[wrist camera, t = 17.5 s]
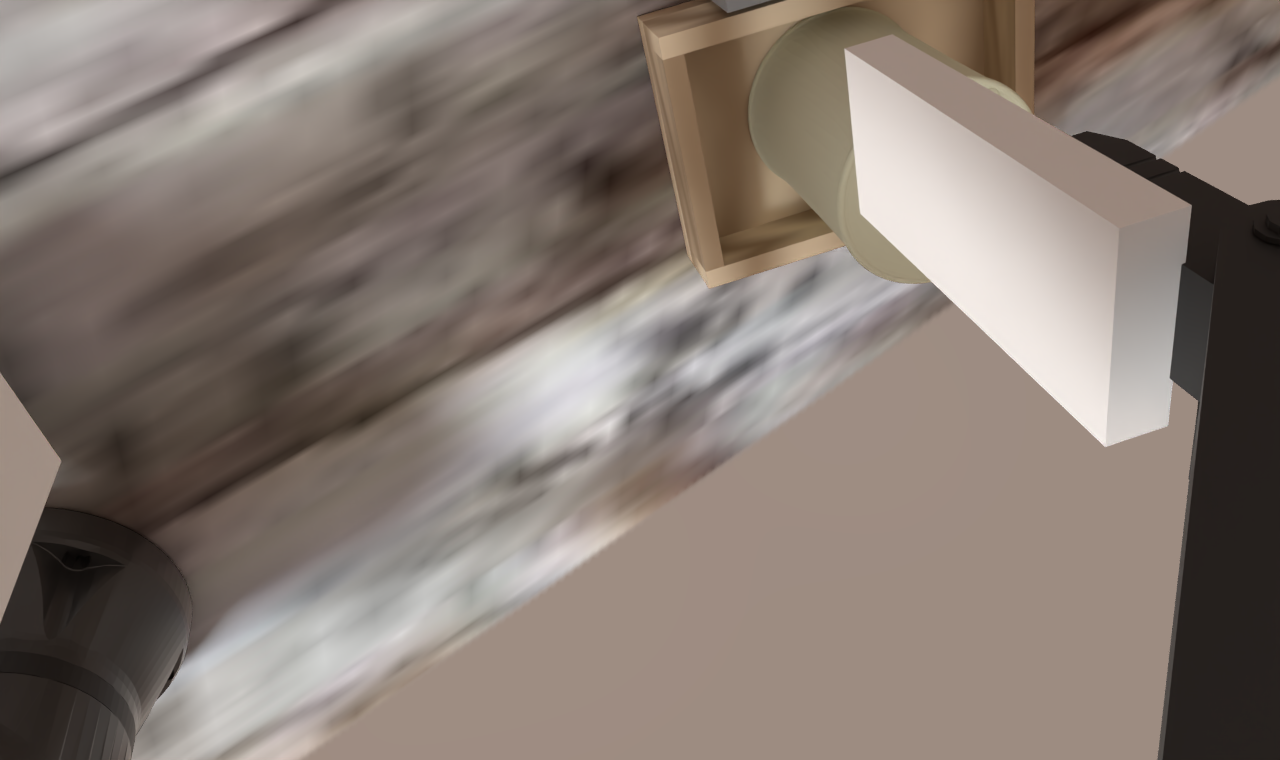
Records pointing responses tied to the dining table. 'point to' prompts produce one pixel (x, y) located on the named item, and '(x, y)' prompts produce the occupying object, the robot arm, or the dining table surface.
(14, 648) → the robot arm
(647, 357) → the dining table surface
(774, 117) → the can
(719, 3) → the grey square tray
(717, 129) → the wooden tray
